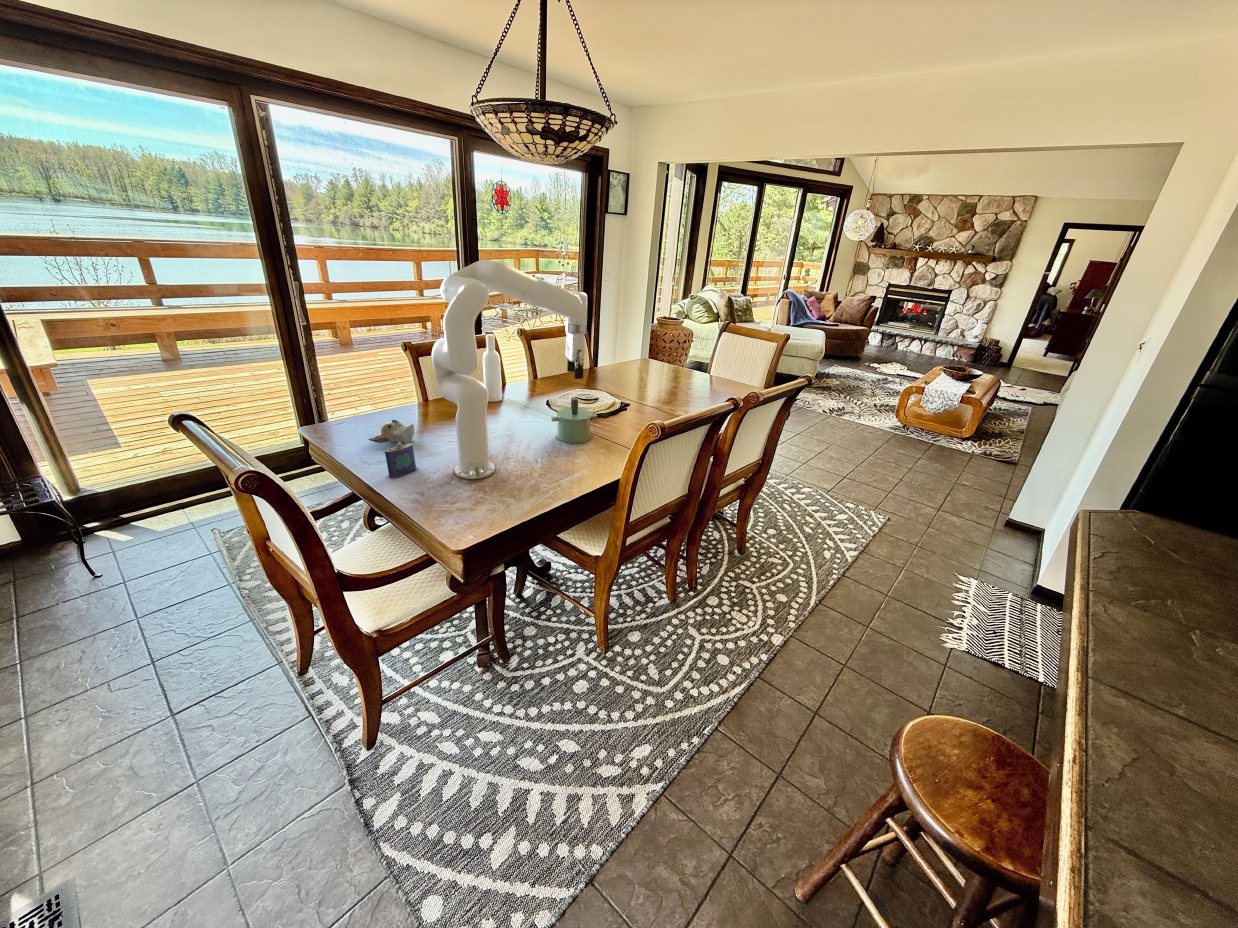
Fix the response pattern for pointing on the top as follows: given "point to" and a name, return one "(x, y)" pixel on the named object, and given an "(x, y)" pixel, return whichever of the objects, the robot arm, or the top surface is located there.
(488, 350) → the bottle
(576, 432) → the pot
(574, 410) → the lid
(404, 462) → the flask
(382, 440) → the ceramic sculpture
